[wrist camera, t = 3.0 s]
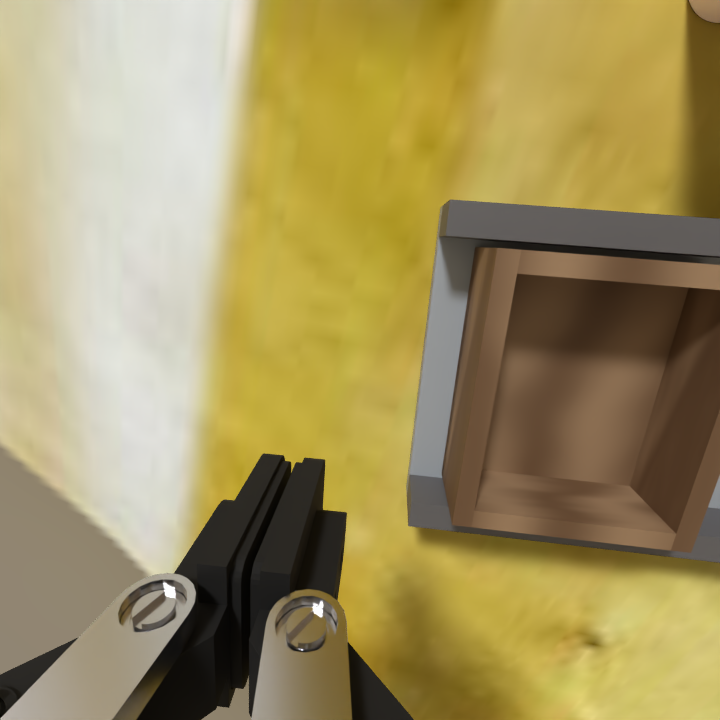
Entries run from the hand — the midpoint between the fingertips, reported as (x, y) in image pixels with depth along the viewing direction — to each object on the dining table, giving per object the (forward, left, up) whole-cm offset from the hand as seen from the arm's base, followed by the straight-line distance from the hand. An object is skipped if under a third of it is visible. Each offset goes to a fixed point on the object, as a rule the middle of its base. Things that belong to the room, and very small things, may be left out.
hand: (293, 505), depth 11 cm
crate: (-12, 0, -14) cm, 19 cm away
